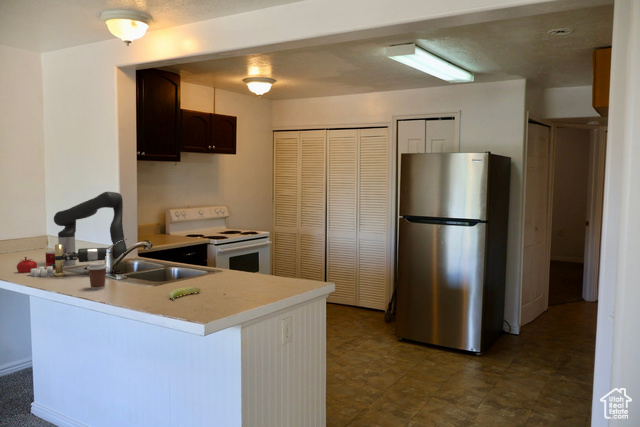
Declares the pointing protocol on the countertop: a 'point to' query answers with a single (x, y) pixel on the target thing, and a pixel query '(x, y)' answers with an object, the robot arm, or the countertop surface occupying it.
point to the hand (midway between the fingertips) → (54, 257)
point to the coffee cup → (97, 274)
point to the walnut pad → (59, 277)
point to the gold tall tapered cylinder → (59, 261)
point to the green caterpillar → (183, 291)
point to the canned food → (50, 259)
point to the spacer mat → (42, 272)
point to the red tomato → (26, 266)
